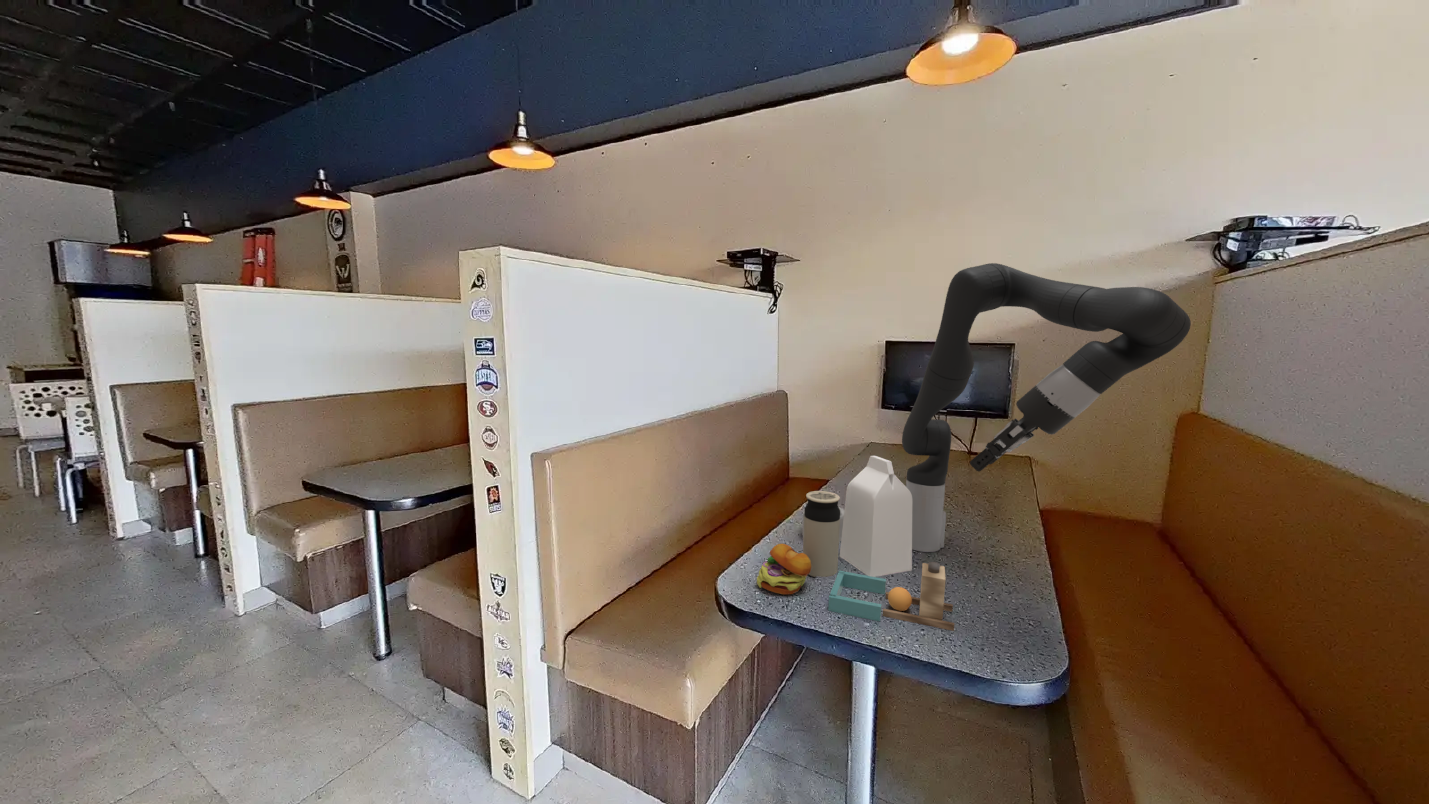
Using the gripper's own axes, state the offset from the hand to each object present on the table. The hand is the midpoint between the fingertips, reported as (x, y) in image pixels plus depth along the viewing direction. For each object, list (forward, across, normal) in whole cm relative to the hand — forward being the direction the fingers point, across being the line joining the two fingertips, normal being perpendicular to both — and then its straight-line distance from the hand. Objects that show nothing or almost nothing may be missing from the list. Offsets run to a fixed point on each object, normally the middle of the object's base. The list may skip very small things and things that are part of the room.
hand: (979, 464), depth 92 cm
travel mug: (+45, -6, -5) cm, 46 cm away
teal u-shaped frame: (+37, +2, +6) cm, 37 cm away
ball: (+30, 0, +9) cm, 31 cm away
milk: (+39, -17, +2) cm, 43 cm away
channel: (+29, -1, +13) cm, 32 cm away
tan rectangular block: (+28, -2, +15) cm, 32 cm away
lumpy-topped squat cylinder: (+50, -24, -12) cm, 57 cm away
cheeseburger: (+47, +6, -6) cm, 48 cm away
